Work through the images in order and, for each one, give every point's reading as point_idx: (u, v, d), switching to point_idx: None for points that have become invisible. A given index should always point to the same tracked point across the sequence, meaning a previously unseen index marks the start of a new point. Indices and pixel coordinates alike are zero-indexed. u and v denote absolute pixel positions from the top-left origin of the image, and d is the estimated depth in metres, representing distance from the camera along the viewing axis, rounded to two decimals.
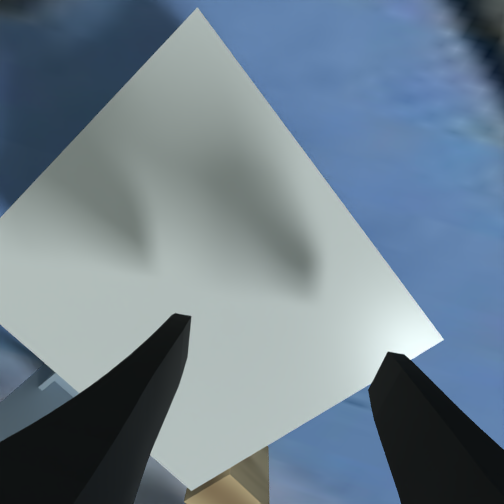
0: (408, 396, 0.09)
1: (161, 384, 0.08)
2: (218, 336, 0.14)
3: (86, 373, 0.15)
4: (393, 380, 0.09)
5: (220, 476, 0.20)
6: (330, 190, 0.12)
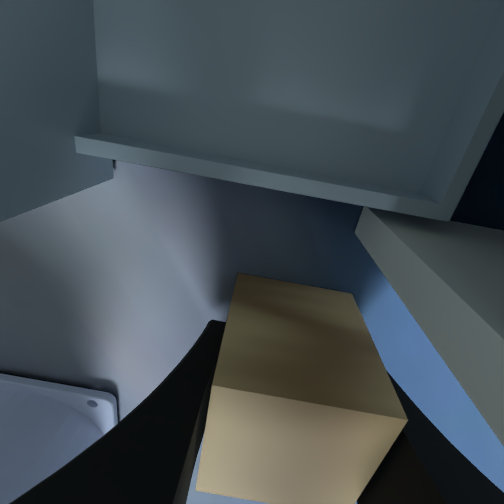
0: None
1: (209, 392, 0.08)
2: None
3: None
4: None
5: (365, 403, 0.07)
6: None
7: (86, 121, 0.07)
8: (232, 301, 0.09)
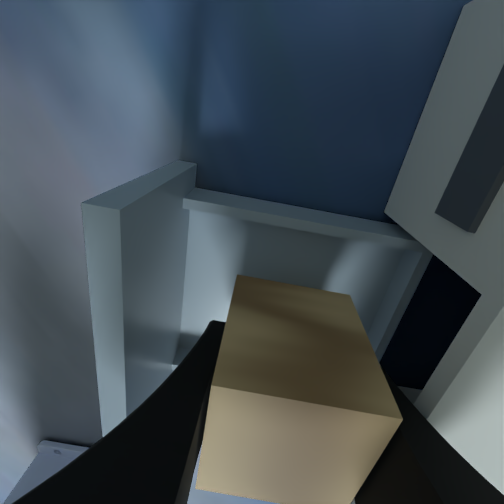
0: None
1: None
2: None
3: None
4: None
5: (361, 403, 0.07)
6: None
7: (175, 351, 0.15)
8: (231, 302, 0.09)
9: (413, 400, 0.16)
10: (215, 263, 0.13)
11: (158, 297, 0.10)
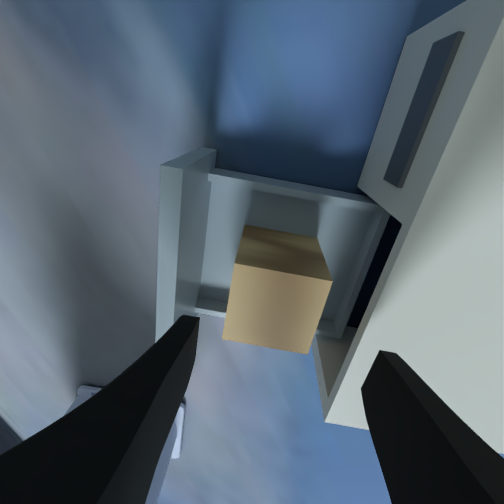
0: (398, 394, 0.09)
1: (172, 386, 0.08)
2: None
3: (432, 262, 0.11)
4: (384, 378, 0.09)
5: (311, 274, 0.13)
6: None
7: (197, 298, 0.19)
8: (242, 236, 0.15)
9: None
10: (229, 226, 0.17)
11: (192, 242, 0.14)
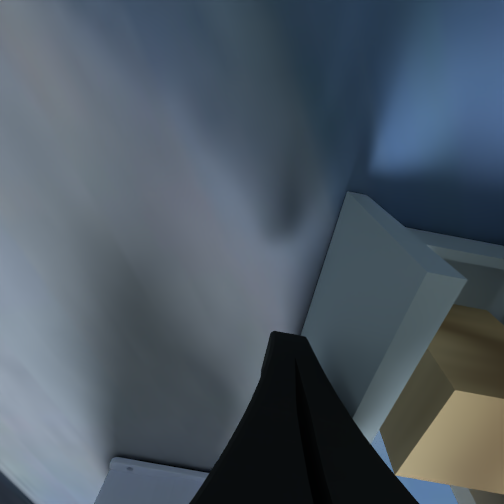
0: None
1: None
2: None
3: None
4: None
5: None
6: None
7: None
8: None
9: None
10: None
11: None
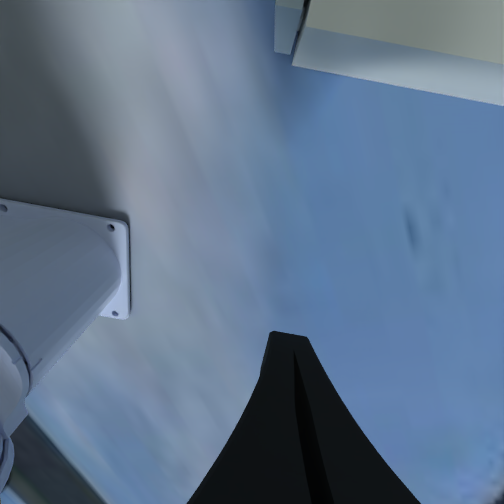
0: (294, 375, 0.09)
1: None
2: None
3: None
4: None
5: None
6: None
7: None
8: None
9: None
10: None
11: None
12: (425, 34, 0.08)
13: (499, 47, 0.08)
